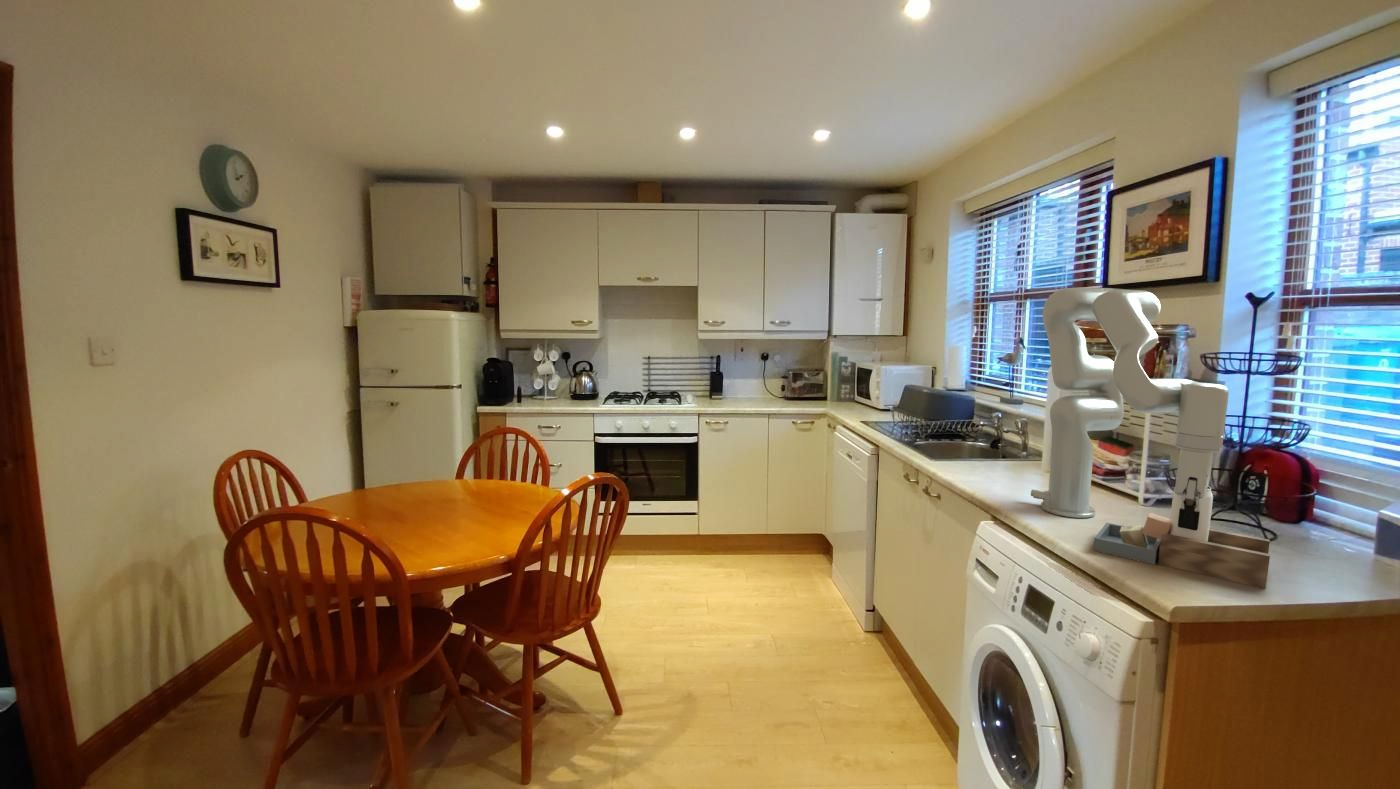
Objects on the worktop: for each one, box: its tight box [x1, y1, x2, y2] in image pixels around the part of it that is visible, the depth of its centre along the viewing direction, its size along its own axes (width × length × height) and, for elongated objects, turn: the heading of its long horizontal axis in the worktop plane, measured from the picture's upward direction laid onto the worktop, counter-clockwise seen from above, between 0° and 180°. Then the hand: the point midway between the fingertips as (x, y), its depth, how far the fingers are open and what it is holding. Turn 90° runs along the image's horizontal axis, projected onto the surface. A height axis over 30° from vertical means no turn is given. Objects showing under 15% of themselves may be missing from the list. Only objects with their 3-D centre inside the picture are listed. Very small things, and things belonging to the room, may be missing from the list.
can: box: [1169, 483, 1214, 542], centre depth 125 cm, size 6×6×12 cm
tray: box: [1093, 522, 1161, 565], centre depth 132 cm, size 11×14×3 cm
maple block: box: [1120, 524, 1148, 548], centre depth 132 cm, size 4×4×4 cm
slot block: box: [1157, 528, 1271, 589], centre depth 122 cm, size 16×12×6 cm
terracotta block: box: [1142, 512, 1171, 540], centre depth 128 cm, size 4×4×4 cm
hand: (1189, 523), depth 125 cm, fingers closed on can, 6 cm apart
